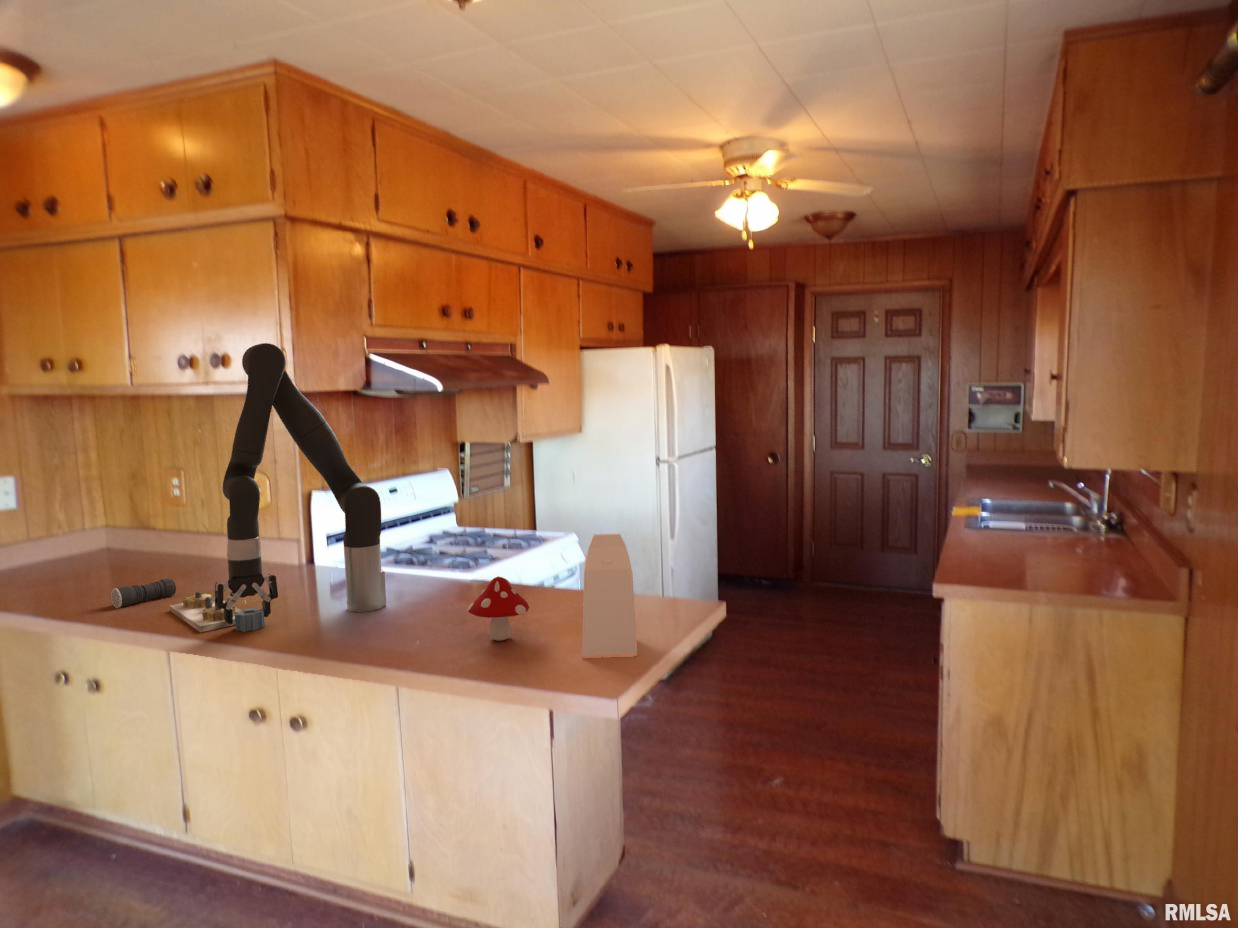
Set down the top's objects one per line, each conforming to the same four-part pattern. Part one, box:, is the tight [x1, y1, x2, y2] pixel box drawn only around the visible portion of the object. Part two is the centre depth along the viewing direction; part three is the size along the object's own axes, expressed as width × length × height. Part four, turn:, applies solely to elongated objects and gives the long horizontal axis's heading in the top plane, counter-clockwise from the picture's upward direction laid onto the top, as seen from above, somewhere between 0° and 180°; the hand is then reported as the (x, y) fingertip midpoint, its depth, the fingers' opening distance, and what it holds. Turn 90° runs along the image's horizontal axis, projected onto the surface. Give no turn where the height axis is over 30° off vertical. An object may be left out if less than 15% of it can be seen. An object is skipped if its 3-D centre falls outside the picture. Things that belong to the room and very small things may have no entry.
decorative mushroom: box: [467, 576, 530, 642], centre depth 189 cm, size 14×14×15 cm
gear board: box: [169, 590, 243, 633], centre depth 213 cm, size 12×26×5 cm, turn 43°
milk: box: [581, 533, 638, 657], centre depth 181 cm, size 12×12×26 cm
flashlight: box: [110, 578, 177, 609], centre depth 229 cm, size 15×5×5 cm, turn 144°
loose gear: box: [234, 607, 265, 633], centre depth 202 cm, size 7×7×4 cm
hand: (248, 619), depth 202 cm, fingers open, 8 cm apart
